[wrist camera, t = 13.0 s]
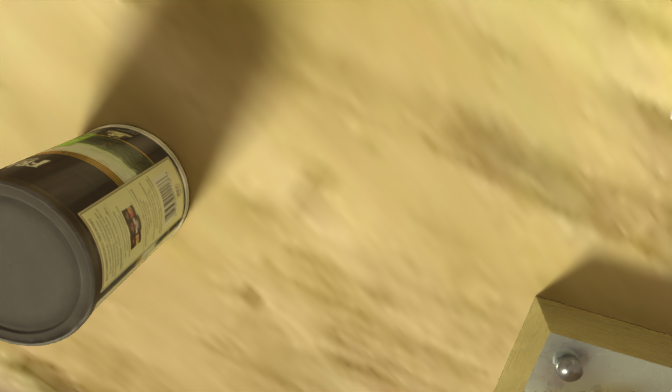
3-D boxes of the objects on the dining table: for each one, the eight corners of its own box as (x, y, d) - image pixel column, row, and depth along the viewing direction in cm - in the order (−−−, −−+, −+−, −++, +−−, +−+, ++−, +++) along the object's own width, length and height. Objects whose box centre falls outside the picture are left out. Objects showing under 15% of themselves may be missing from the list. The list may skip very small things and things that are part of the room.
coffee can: (40, 165, 45) (-115, 234, 32) (136, 98, 42) (8, 143, 29) (119, 269, 47) (4, 373, 34) (216, 211, 45) (131, 301, 31)
